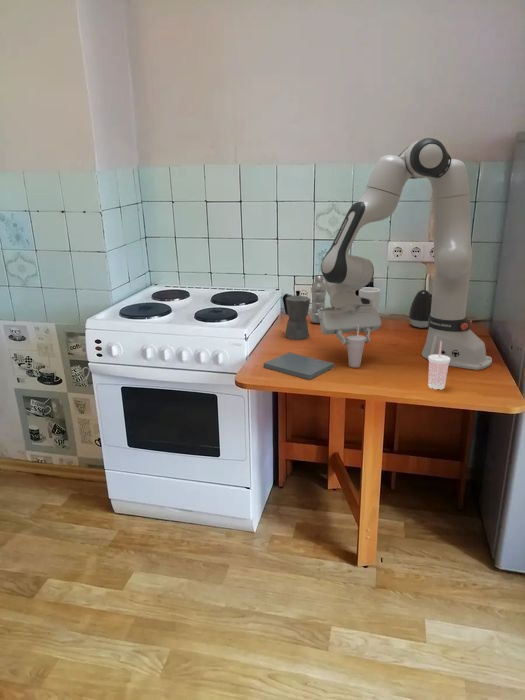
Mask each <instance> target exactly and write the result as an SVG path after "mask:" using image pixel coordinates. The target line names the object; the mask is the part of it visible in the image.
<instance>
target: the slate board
mask: <svg viewBox="0 0 525 700" xmlns="http://www.w3.org/2000/svg"><path fill="white" fill-rule="evenodd" d="M263 368H265V369H268V370H271V371H275V372H279V373H283V374H287V375H290V376H293V377H298V378H301V379H304V380H308V381H310V380H312V379H314V377H315V378H316V376H317V377H319V376H321V375H323V374H324V372H325V373H326V371H327V372H329V371H331V370H332V368H333V369H335V362H330V361H326V360H322V359H317V358H313V357H309V356H305V355H303V354H297V353H293V352H287V353H285V354H282V355H280V356H277V357H275V358H271V359H269V360H268V361H265V362H263ZM330 369H331V370H330ZM328 370H329V371H328ZM322 373H323V374H322ZM320 374H321V375H320ZM318 375H319V376H318Z"/></svg>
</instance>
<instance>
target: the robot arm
mask: <svg viewBox="0 0 525 700" xmlns="http://www.w3.org/2000/svg"><path fill="white" fill-rule="evenodd" d="M425 178H426V179H427V180H428V181H429V182H430V184H431V188H432V213H433V253H434V255H433V259H434V267H435V272H434V273H435V274H434V280H433V281H434V282H433V288H432V293H431V294H432V304H431V314H430V315H429V319H428V327H427V336H426V340H425V344H424V347H423V349H422V352H421V356H422V357H423V358H424V359H427V360H428V356H430V355H434V354H438V355H439V348H440V341H442V346H441V355H445V356H448V357H450V362H449V366H448V367H455V368H460V369H469V370H475V371H479V370H480V371H481V370H485V369H487V368H488V367H490V366H491V365H492V364H493V358H492V357H491V356H488V355H487V352H486V344H485V342H484V341H483V340H482V339H481V338H480V337H478V336H477V335H476V333H475V332H473V331H472V330H471V329H470V328H471V325H472V322H473V320H472V319H470V320H469V319H468V318H467V317H466V314H467V313H466V312H467V304H468V297H469V287H470V279H471V271H472V262H473V250H472V222H471V220H472V217H471V213H472V212H471V194H470V193H471V189H470V181H469V175H468V171H467V166H466V165H465V163H464V162H463V161H462V160H460V159H456V158H452V157H451V155H450V154H449V153H448V151H447V148H446V147H445V145H444V143H442V142H441V141H440V140H439V139H436V138H434V137H433V138H432V137H427V138H422V139H420V140H419V139H418V140H417V141H414V142H413V143H411V145H409V146H407V147H406V148H405V149H404V150H403V151H402V152H401V153H400V154H399V155H395V154H387V155H383V156H381V157H380V158H379V159H378V160H377V162H376V164H375V166H374V168H373V169H372V171H371V174H370V177H369V179H368V182H367V184H366V187H365V190H364V191H363V194H362V195H361V197H360V198H359V200H358V201H357V202H355V203H353V204H352V205H351V206H350V208H349V210H348V211H347V213H346V215H345V217H344V219H343V221H342V223H341V225H340V228H339V229H338V231H337V234H336V236H335V237H334V240H333V242H332V244H331V246H330V248H329V249H328V251H327V252H326V254H325V255H324V257H323V259H322V261H321V264H320V271H321V275H323V276H324V280H323V282H324V284H325V286H326V293H327V294H328V295H329V302H330V307H325V308H321V309H320V310H321V311H320V310H318V312H317V314H318V318H319V319H320V323H319V324H320V325H319V326H320V330H321V333H322V334H323V335H326V336H329V335H335V337H337V339H338V340H339V341H341V345H342V346H344V345H346V346H347V344H348V339H347V338H346V336H344V335H343V334H350V333H357V326H358V324H359V333H361V332H363V333H364V334H365V337H366V341H365V343H366V344H368V343H370V342H371V339H370V334H371V332H374V331H378V330H379V329H380V328H381V326H382V320H381V317H380V314H378V312H377V310H376V309H375V308H374V307H373V306H372V305H373V301H372V300H371V299H367V298H363V297H359V295H357V294H356V292H357V291H359V290H360V289H361V288H363V287H367V285H369V284H370V283H371V282H372V280H373V278H374V276H375V275H374V273H375V269H374V265H373V263H372V261H371V260H370V259H368V258H365V257H361V256H358V255H354V254H353V255H352V254H349V252H350V249H351V247H352V246H353V243H354V241H355V239H356V238H357V235H358V233H359V231H360V230H361V229H362V228H363V227H365V226H366V225H368V224H370V223H375V222H380V221H381V222H382V221H384V220H385V219H387V218H390V217H391V216H392V215H393V214H394V213H395V211H396V209H397V207H398V204H399V202H400V200H401V199H400V198H401V196H402V193H403V189H404V187H405V185H406V184H407V182H408V181H409V180H410V179H415V180H417V179H425ZM365 343H364V344H365Z"/></svg>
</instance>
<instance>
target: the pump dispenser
mask: <svg viewBox="0 0 525 700" xmlns="http://www.w3.org/2000/svg"><path fill="white" fill-rule="evenodd" d="M432 294H433V293H430V292H429V290H426V289H421V290H419V291H418V292H417V293H416V295H414V298H413V300H412V303H410V308H409V312H408V319H409V323H410V324H411V325H412V326H413V327H415V328H417V327H418V328H419V329H426V328H427V329H428V319H429V315H430V314H431V304H432Z"/></svg>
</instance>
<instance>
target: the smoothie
mask: <svg viewBox="0 0 525 700" xmlns="http://www.w3.org/2000/svg"><path fill="white" fill-rule="evenodd" d="M365 336H366V335H365ZM365 336H364V335H362V334H360V332H359V324H358V326H357V332H356V334H347V335H346V336H345V338H347V339H348V344H347V345H346V348H347V357H348V358H347V359H348V366H349V367H350V366H351V368H360V367H361V362H362V358H363V353H364V348H365V341H366V337H365ZM359 366H360V367H359Z"/></svg>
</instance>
